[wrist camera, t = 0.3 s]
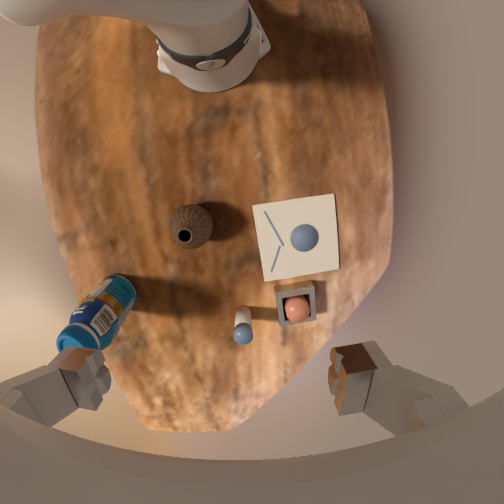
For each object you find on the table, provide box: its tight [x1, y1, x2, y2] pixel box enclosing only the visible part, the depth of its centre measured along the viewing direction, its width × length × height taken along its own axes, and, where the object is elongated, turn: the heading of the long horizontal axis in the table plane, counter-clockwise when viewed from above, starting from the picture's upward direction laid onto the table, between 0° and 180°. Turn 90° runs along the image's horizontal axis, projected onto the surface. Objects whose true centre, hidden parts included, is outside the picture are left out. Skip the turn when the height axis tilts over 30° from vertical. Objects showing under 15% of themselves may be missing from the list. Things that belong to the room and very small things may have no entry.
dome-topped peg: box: [234, 306, 253, 344], centre depth 49 cm, size 3×3×8 cm
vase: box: [169, 204, 213, 249], centre depth 42 cm, size 7×7×9 cm
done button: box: [284, 295, 310, 322], centre depth 49 cm, size 4×4×3 cm
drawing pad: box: [252, 194, 339, 282], centre depth 48 cm, size 14×14×1 cm
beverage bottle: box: [57, 275, 136, 353], centre depth 42 cm, size 8×8×20 cm
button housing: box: [274, 280, 316, 326], centre depth 51 cm, size 7×7×3 cm
